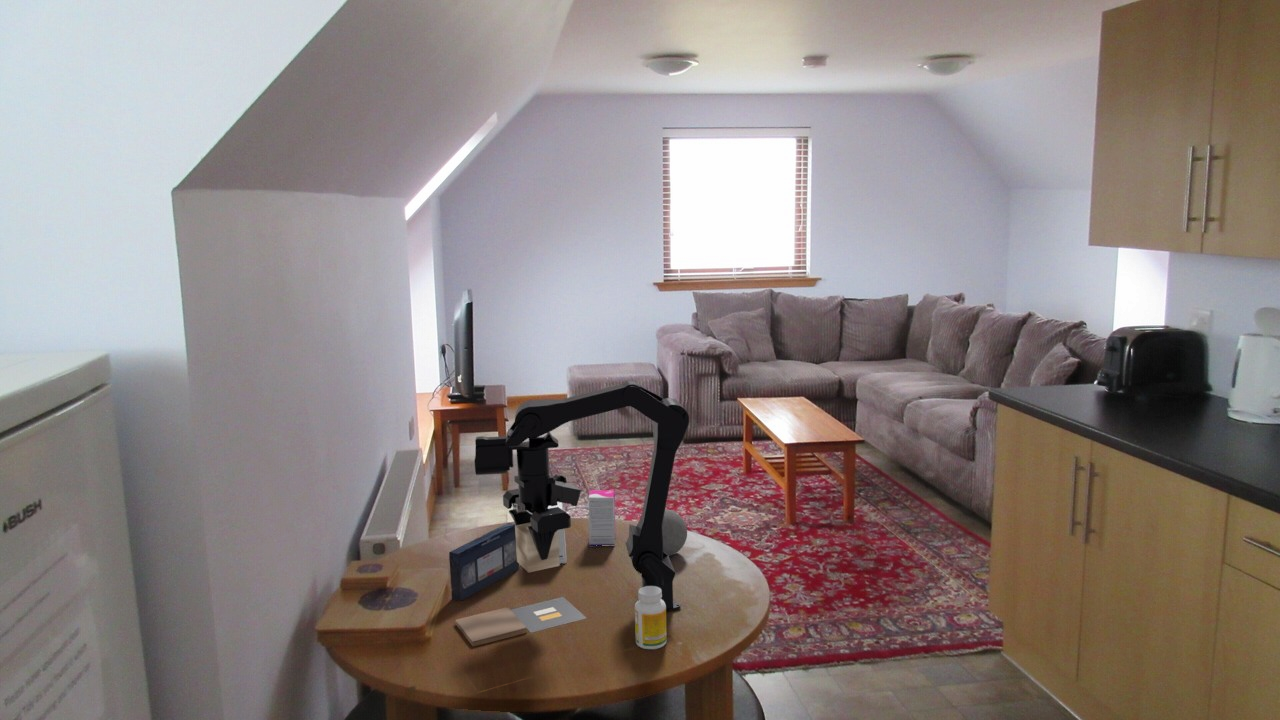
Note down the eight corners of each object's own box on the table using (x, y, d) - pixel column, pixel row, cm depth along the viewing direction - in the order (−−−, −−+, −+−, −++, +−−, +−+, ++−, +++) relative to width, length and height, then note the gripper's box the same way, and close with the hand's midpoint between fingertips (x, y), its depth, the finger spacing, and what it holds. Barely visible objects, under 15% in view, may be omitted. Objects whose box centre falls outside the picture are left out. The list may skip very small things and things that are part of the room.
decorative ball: (697, 554, 196) (696, 509, 194) (663, 567, 189) (661, 521, 188) (665, 542, 203) (664, 499, 202) (632, 554, 197) (630, 510, 195)
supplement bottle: (629, 644, 156) (627, 591, 155) (650, 632, 160) (648, 581, 159) (652, 653, 153) (650, 599, 151) (673, 641, 157) (671, 589, 155)
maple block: (559, 565, 165) (557, 528, 164) (528, 572, 163) (526, 535, 162) (547, 555, 171) (545, 519, 170) (516, 561, 168) (515, 525, 167)
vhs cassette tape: (460, 602, 176) (457, 553, 174) (449, 599, 177) (446, 551, 176) (521, 569, 191) (519, 524, 189) (510, 567, 193) (508, 522, 191)
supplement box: (615, 546, 202) (613, 497, 200) (588, 547, 202) (586, 497, 200) (616, 537, 208) (614, 489, 206) (590, 538, 208) (588, 489, 206)
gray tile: (586, 618, 167) (586, 618, 167) (530, 633, 162) (530, 632, 162) (563, 597, 176) (563, 596, 176) (509, 610, 171) (509, 609, 171)
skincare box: (536, 548, 203) (534, 502, 201) (565, 546, 203) (563, 501, 202) (536, 565, 193) (533, 518, 191) (566, 563, 193) (564, 516, 191)
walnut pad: (527, 632, 162) (526, 627, 162) (472, 646, 157) (472, 641, 157) (507, 612, 171) (507, 607, 170) (455, 624, 166) (455, 619, 166)
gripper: (596, 476, 159) (599, 561, 162) (554, 453, 176) (558, 530, 178) (536, 487, 154) (541, 574, 157) (499, 462, 171) (504, 541, 173)
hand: (537, 553), depth 166 cm, fingers closed on maple block, 6 cm apart
